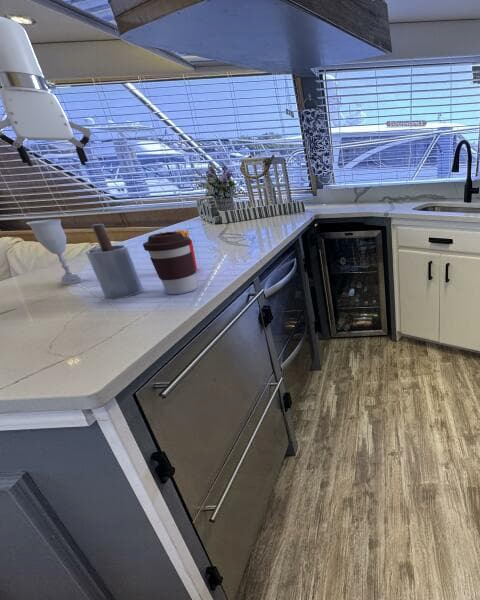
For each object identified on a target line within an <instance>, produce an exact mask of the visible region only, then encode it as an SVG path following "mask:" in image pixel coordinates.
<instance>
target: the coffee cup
mask: <svg viewBox="0 0 480 600" xmlns="http://www.w3.org/2000/svg"><path fill="white" fill-rule="evenodd" d="M190 239H191V238H190V236H189V237H184V236H183V235H182V234H181V233H180V232H177V231H176V232H173V231H171V232H170V231H169V232H167V231H165V232H162V233H160V232H158V233H154V234H151V235H148V237H147V241H145V242H143V243H142V247H143V250H144V251H146V252H148V254H149V256H150V257H149V258H150V261H151V263H152V265H153V267H154V270H155V272H156V274H157V276H158V279H159V280H160V281H161V283H162V286H163V287H164V290H165V292H166V294H168V295H183V294H187V293H190V292H192V291H195V290H196V289H197V288H198V287H199V284H198V279H197V274H196V272H197V270H195V265H194V261H193V256H192V252H191V251H190V247H189V245H190V244H191V241H190Z"/></svg>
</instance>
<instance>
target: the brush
mask: <svg viewBox="0 0 480 600" xmlns="http://www.w3.org/2000/svg"><path fill="white" fill-rule="evenodd" d="M91 227H92V231H93V233H94V235H95V238H96V240H97V242H98V245H99V248H100V247H101V250H102V252H106V251H112V250H113V247H112V246H113V245H112V242H111V240H110V238H109V237H110V236H109V235H108V232H107V230H106V228H105V227H106V226H105V225H104V223H96V224H95V223H94V224H91Z"/></svg>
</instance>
